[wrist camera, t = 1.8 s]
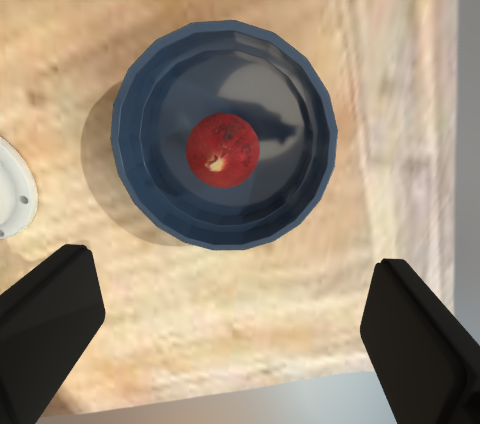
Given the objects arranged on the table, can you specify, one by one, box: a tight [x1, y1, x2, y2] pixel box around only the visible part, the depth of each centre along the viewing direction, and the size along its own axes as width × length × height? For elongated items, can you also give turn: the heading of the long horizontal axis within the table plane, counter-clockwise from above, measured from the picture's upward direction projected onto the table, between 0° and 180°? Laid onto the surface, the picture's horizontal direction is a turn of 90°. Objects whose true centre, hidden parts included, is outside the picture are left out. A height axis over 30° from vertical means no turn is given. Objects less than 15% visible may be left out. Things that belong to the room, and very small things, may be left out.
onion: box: [186, 112, 260, 188], centre depth 22 cm, size 6×6×8 cm
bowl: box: [110, 20, 338, 250], centre depth 24 cm, size 17×17×5 cm
